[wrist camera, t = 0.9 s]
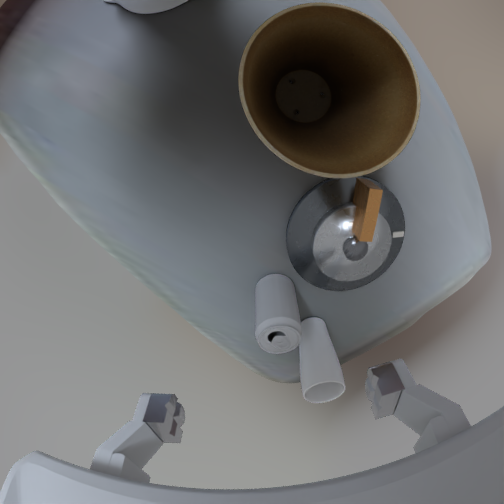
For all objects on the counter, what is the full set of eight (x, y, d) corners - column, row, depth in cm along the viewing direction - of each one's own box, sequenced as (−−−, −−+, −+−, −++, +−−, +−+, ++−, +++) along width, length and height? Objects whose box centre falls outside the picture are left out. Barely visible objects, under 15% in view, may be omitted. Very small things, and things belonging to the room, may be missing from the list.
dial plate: (280, 180, 37) (280, 183, 36) (405, 172, 35) (409, 174, 34) (290, 292, 46) (291, 298, 45) (394, 278, 45) (397, 283, 43)
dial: (375, 274, 42) (387, 294, 38) (306, 273, 42) (311, 294, 38) (398, 183, 35) (416, 195, 30) (319, 173, 35) (329, 184, 30)
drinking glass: (328, 335, 51) (343, 399, 38) (294, 340, 52) (302, 406, 39) (329, 310, 48) (348, 377, 35) (292, 315, 49) (302, 384, 36)
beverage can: (281, 264, 43) (288, 316, 33) (301, 291, 46) (311, 344, 35) (247, 283, 45) (245, 337, 35) (269, 307, 48) (271, 361, 37)
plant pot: (359, 149, 34) (419, 179, 20) (250, 151, 35) (247, 182, 21) (354, 46, 27) (413, 18, 13) (241, 44, 28) (230, 2, 14)
